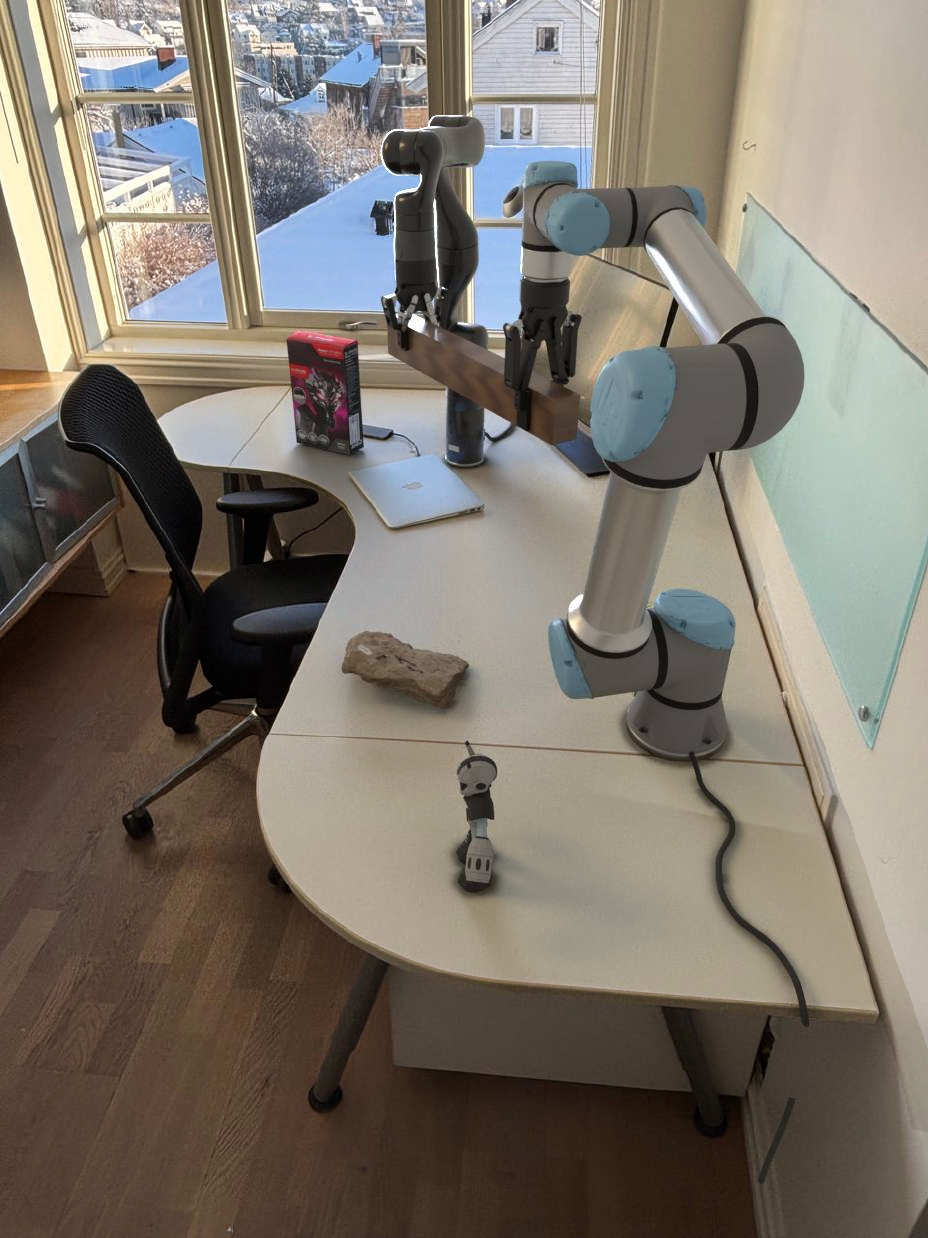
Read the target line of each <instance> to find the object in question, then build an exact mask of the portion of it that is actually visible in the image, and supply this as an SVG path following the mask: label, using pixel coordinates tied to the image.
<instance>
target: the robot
mask: <svg viewBox="0 0 928 1238" xmlns="http://www.w3.org/2000/svg"><path fill="white" fill-rule="evenodd" d="M464 743H465V748H466V750H467V754H468V755H469V756H467V757H465V758H464V759H463V760H462V761H461V762H460V763H458V766H457V768H456V775H457V780H458V781H459V793H460V795H462V796H463V797H462V799H463V801H464V803H465V805H466V807H465V815H466V822H467V823H468V825H469V830H468V832H467V834H466V836H465V838H464V839H463V841H462V843H461V845H459V847H458V848H457V850H456V851H455V853H456V856H457V858H458V860H459V861H460V862H461V863H463V864H464V865H463V866H462V869H461V872H460V873H459V876H458V880H457V883H458V884H459V885H460V886H461V888H462V889H464V890H465V891H469V892H473V893H475V892H480V891H482V890H484V889H486V888H487V887H490V886H491V883H492V880H493V863H494V847H493V844H492V840H491V839H490V838H489V837H488V830H487V829H488V820H490V821H495V804H494V801H493V799H492V797H491V788H492V783H493V782H495V780H496V779H497V777H498V766H497V764H496V762H495V761H494V760H493V759H492V758H490V757H489V756H487V755H485V754H482V753H478V752H477V753H476V752H475V751H474V749H473V747H472V745H471V744H470V742H469V740H466V741H464Z"/></svg>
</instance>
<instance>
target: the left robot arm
mask: <svg viewBox="0 0 928 1238" xmlns="http://www.w3.org/2000/svg"><path fill="white" fill-rule="evenodd" d="M485 146H486V133H485V128H484V126H483V123H482V121H481V120H480V119H479V118H478V117H475V116H471V115H434V116H432V117H431V118H430V120H429V121H428V126H427V127H421V128H419V129H392V130H391V131H389V132H388V133H387V134H386V135H385V137H384V139H383V141H382V144H381V148H380V157H381V160H382V161H381V162H382V164H383V166H384V167H385V169H386V170H387V171H388V172H389V173H391V174H392V175H394V176H400V177H401V176H402V177H404V176H405V177H420V182H419V184H418V186H417V187H416V188H411V189H405V190H401V191H399V192H397V193H396V194H395V196H394V200H393V212H394V214H393V215H394V237H393V254H394V255H393V256H394V280H395V289H394V291H393V293H391V294H389V295H382V296H381V297H380V302H381V306H382V310H383V314H384V318H385V322H386V327H387V326H388V327H391V328H393V329H394V330H397V344H398V347H400V349H401V350H403V351H408V350H409V346H408V331H407V328H408V324H409V321H410V320H411V319H412V316H413V314H416V313H418V312H421V314H422V315H423V319H424V320H426V321H428V322H430V323H432V324H435V325H437V326H439V327H441V328H443V329H445V330H447V331H449V332H451V333H453V334H455V335H457V336H459V337H462V338H464V339H466V340H468V341H470V342H472V343H474V344H476V345H478V346H480V347H482V348H484V349H486V350H489V341H490V340H489V339H490V338H489V332H488V330H487V328H486V326H484V325H482V324H478V323H477V324H476V323H471V322H463V321H459V317H458V316H459V315H458V313H459V304H460V301H461V300H462V297H463V295H464V293H465V291H466V290H467V288H468V286H469V285H470V284H471V282H472V280H473V278H474V276H475V275H476V273H477V270H478V267H479V263H480V256H479V254H480V251H479V234H478V233H479V232H478V230H477V226H476V225H475V223H474V221H473V219H472V217H471V216H470V214H469V213H468V211H467V210H466V208H465V207H464V206H463V204H462V202H461V200H460V198H459V196H458V195H457V193H456V191H455V188H454V186H453V181H452V178H451V175H450V168H455V169H456V168H459V169H467V168H468V169H469V168H474V167H477V166H478V165H479V164H480V163H481V162H482V160H483V157H484V154H485ZM436 279H437V285H436ZM435 298H436V300H435V305H433V300H434V299H435ZM397 303H399V305H398V309H397V312H396V306H397ZM396 314H397V315H398V318H397V316H396ZM485 410H486V408H484V407H482V406H480V405H478V404H477V403H475V402H473V401H471V400H470V399H468V398H466V397H464V396H462V395H461V394H459V393H457V392H455V391H454V390H452V389H450V388H448V387H446V386H445V462H446V463H447V464H448V465H450V466H453V467H456V468H473V467H474V468H475V467H476V466H477V467H478V466H480V465H481V464H483V462H484V460H485V456H484V454H485V453H484V451H485V450H484V449H485V448H484V447H485V441H486V438H487V440H488V441H491V442H495V441H499V440H500V439H502V438H504V437H505V436H506V435H507V434H508V433H509V432H510V431H511V430H512V429H513V427H514V424H512V423H511V422H509V426H508V427H507V428H506V429H504V431H503V432H501V433H500V434H498V435H496V436H494V437H492V436H491V435H490V434H489V433H488V432H487V431H486V429H485Z"/></svg>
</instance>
